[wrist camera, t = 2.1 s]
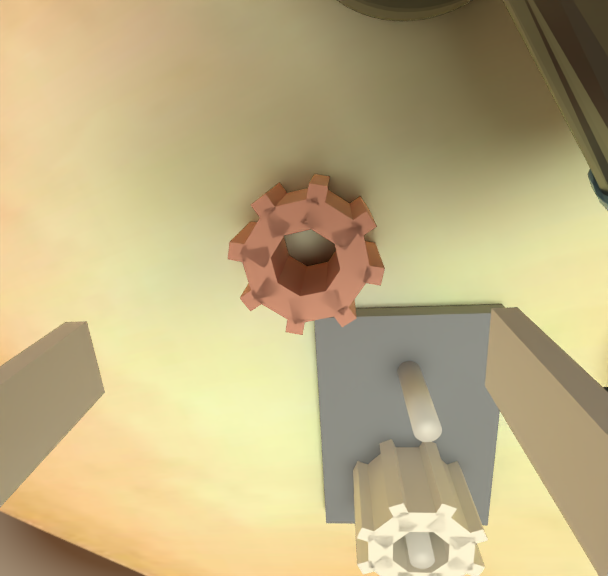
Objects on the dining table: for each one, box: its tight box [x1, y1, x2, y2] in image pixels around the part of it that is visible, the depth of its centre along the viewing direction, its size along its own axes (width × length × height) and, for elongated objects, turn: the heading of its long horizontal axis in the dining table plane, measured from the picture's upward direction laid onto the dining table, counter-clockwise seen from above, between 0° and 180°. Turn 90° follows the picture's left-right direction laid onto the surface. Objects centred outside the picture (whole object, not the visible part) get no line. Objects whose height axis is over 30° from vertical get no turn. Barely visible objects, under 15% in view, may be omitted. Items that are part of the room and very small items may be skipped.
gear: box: [228, 174, 385, 335], centre depth 26 cm, size 8×8×6 cm
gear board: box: [315, 304, 505, 576], centre depth 29 cm, size 19×13×8 cm
